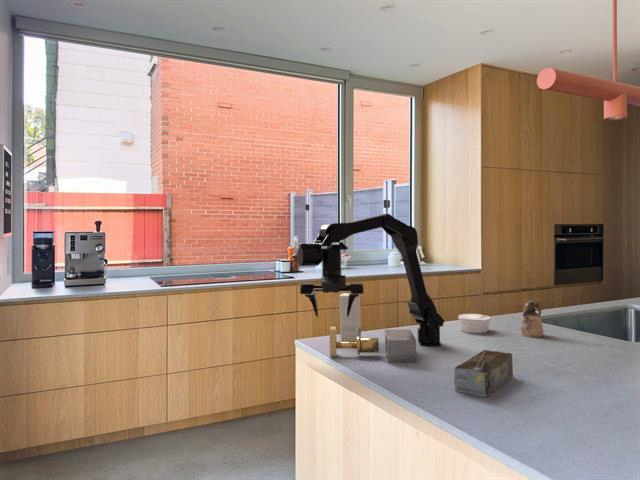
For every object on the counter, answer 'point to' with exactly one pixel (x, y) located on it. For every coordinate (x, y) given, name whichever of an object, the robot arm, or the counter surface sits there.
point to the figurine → (532, 320)
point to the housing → (400, 346)
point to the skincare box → (349, 319)
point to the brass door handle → (353, 344)
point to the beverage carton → (483, 373)
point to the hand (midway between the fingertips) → (332, 316)
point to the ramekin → (474, 323)
